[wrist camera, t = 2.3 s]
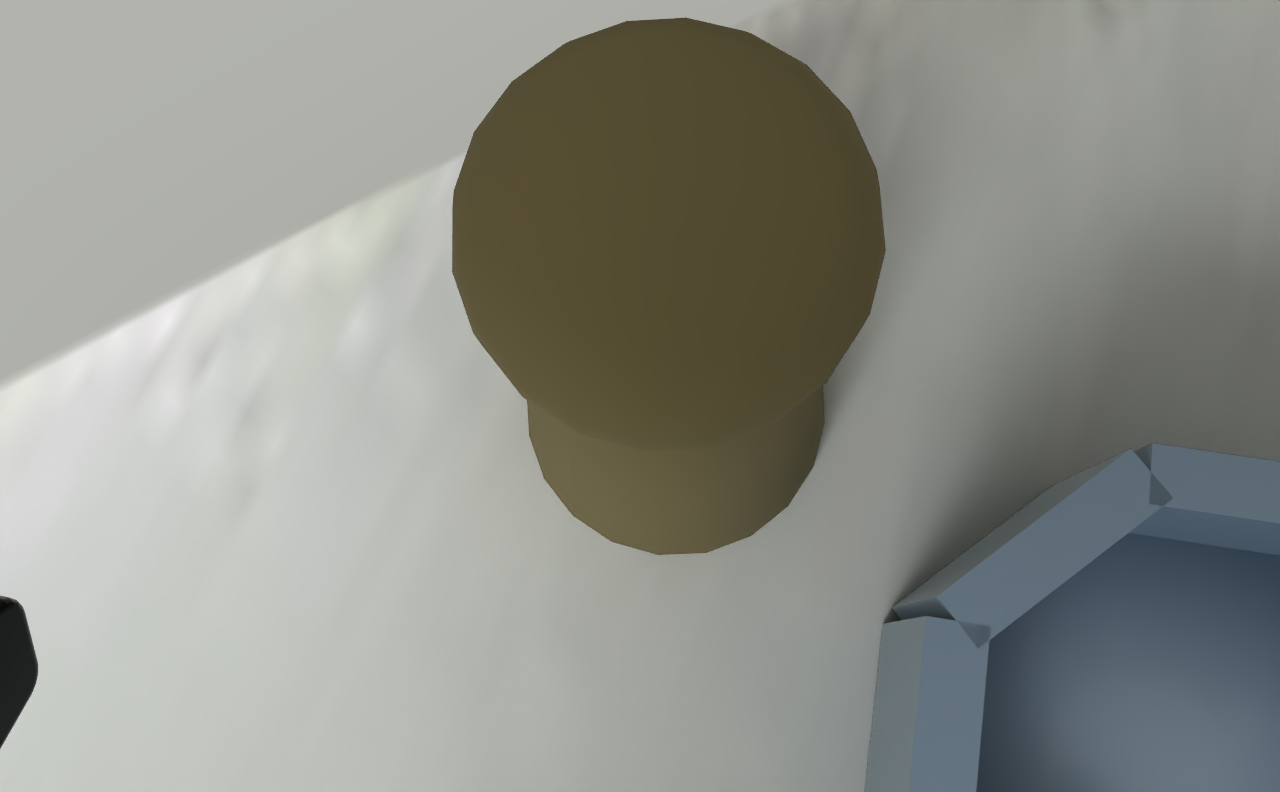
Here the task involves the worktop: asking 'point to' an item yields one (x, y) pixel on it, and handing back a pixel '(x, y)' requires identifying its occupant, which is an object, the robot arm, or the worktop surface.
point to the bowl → (1097, 640)
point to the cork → (669, 272)
